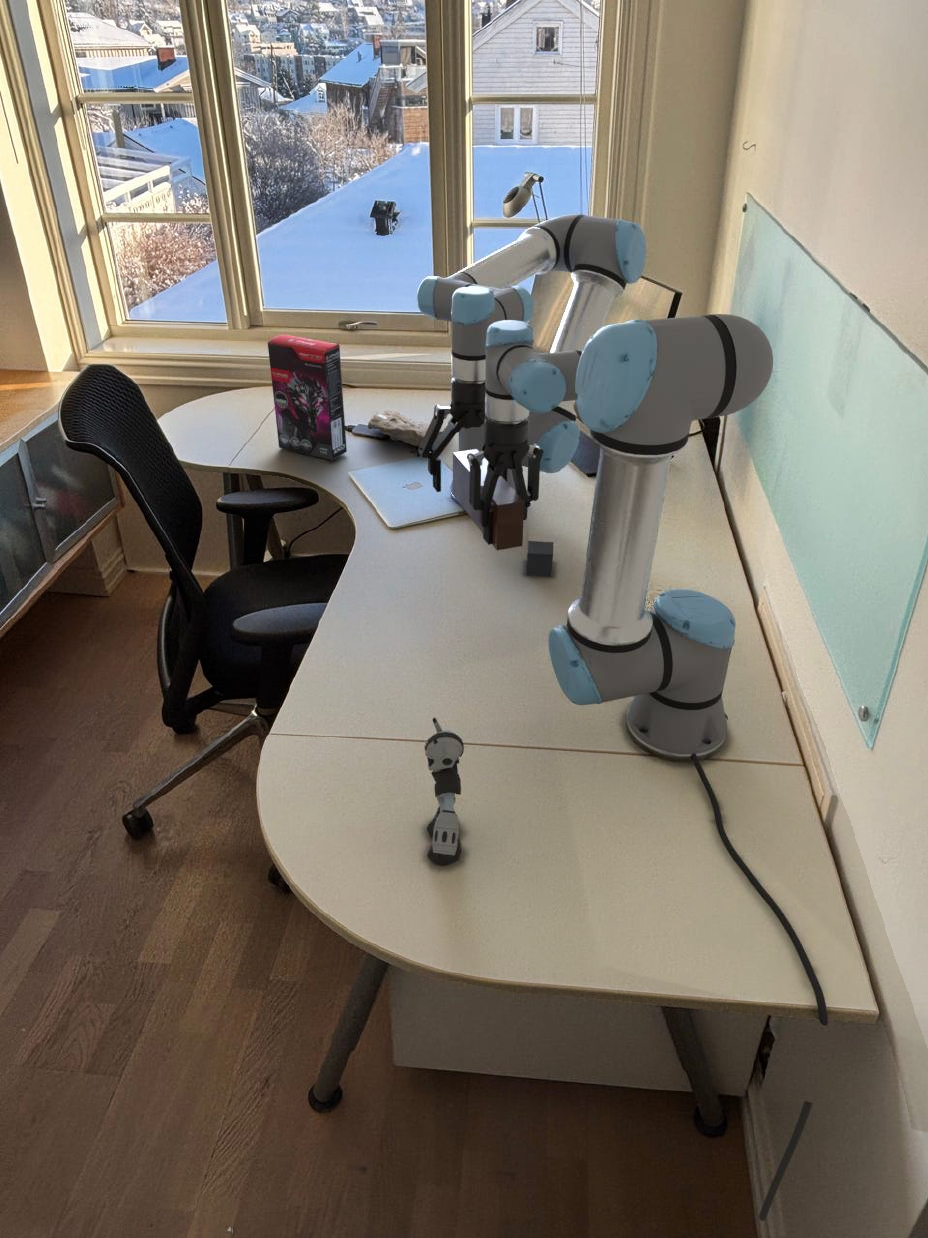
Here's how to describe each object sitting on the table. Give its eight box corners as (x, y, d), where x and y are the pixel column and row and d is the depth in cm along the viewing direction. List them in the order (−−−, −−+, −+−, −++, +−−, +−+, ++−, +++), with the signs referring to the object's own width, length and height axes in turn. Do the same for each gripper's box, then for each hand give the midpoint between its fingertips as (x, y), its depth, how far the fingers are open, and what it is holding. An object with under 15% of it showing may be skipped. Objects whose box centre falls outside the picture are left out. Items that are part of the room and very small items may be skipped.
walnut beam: (522, 546, 166) (524, 501, 161) (496, 550, 165) (497, 505, 160) (476, 490, 185) (476, 448, 180) (452, 494, 183) (452, 452, 178)
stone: (352, 434, 231) (356, 410, 229) (373, 426, 244) (377, 403, 242) (430, 458, 227) (435, 434, 225) (447, 448, 241) (452, 426, 238)
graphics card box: (276, 448, 231) (264, 340, 216) (293, 439, 236) (282, 332, 221) (333, 462, 225) (324, 351, 209) (349, 452, 230) (341, 343, 214)
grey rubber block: (551, 576, 181) (553, 554, 178) (526, 575, 182) (527, 553, 179) (552, 563, 185) (553, 541, 183) (527, 562, 186) (528, 540, 183)
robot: (466, 900, 116) (468, 784, 104) (427, 902, 115) (425, 785, 104) (459, 789, 132) (460, 678, 121) (425, 790, 132) (423, 679, 120)
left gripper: (526, 364, 174) (521, 468, 186) (400, 377, 167) (403, 484, 179) (542, 377, 168) (536, 483, 180) (412, 391, 161) (414, 501, 173)
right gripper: (546, 402, 160) (539, 521, 173) (448, 415, 155) (449, 536, 168) (565, 418, 155) (556, 540, 167) (463, 431, 149) (462, 556, 162)
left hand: (470, 484), depth 179 cm, fingers open, 13 cm apart
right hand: (502, 538), depth 168 cm, fingers closed on walnut beam, 5 cm apart
